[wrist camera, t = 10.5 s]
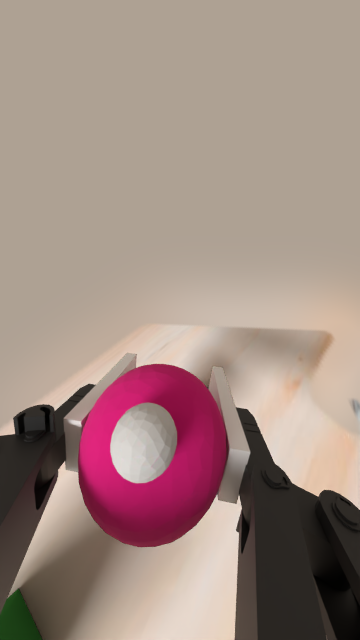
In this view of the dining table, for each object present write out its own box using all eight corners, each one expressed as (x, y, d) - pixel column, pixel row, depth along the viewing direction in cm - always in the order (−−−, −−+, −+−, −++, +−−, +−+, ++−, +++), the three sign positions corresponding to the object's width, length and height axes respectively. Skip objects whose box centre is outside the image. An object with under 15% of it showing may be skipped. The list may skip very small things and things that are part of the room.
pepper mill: (144, 395, 23) (52, 308, 6) (197, 397, 23) (260, 317, 6) (134, 464, 19) (-228, 816, 2) (198, 467, 19) (400, 838, 2)
